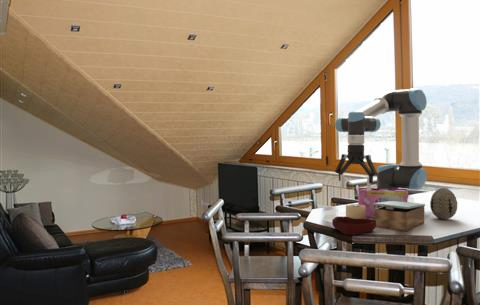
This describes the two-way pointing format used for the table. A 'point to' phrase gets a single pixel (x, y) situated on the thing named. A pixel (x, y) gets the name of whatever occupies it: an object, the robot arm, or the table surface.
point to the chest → (399, 218)
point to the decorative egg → (443, 203)
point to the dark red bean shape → (353, 225)
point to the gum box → (379, 198)
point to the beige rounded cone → (355, 211)
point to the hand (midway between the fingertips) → (355, 189)
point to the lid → (399, 204)
